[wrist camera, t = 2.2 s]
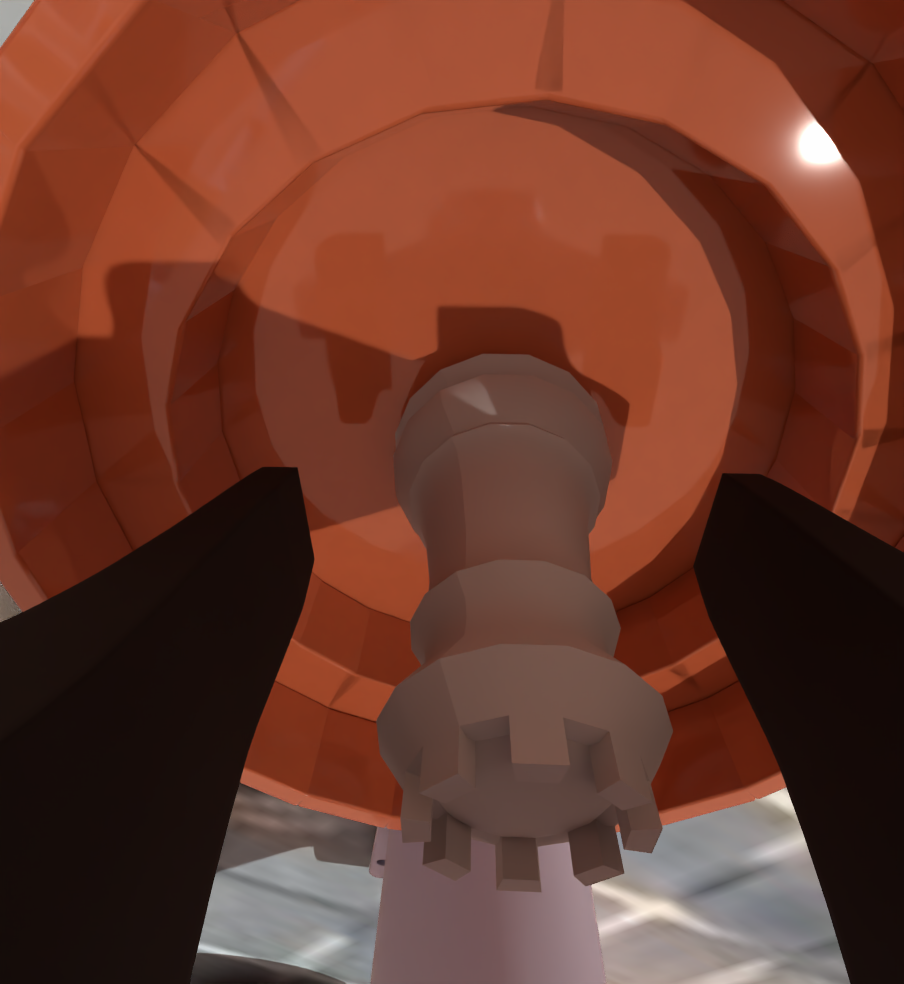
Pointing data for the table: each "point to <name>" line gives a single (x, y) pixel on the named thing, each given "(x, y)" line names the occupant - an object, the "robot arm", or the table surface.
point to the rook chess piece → (516, 634)
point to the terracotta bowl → (448, 305)
